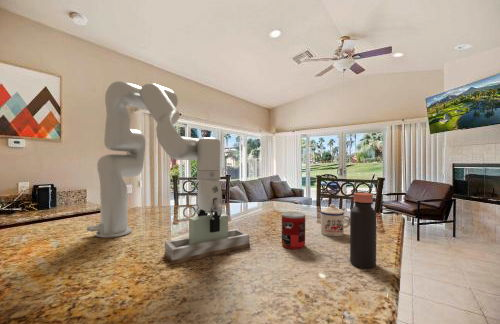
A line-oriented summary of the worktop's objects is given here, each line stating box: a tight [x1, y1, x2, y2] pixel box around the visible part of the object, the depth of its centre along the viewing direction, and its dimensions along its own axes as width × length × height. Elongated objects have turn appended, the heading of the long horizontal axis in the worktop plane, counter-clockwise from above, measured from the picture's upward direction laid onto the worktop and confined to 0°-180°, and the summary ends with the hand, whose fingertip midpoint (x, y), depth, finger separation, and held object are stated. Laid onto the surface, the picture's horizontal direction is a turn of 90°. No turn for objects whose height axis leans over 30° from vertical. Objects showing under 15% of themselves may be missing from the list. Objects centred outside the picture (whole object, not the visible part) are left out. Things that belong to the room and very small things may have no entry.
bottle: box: [349, 192, 377, 270], centre depth 71 cm, size 7×7×20 cm
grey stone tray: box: [164, 228, 251, 265], centre depth 82 cm, size 26×9×4 cm, turn 123°
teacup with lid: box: [320, 203, 350, 237], centre depth 100 cm, size 12×9×12 cm
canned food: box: [281, 211, 306, 250], centre depth 86 cm, size 8×8×11 cm
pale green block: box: [188, 212, 229, 245], centre depth 82 cm, size 12×4×10 cm, turn 124°
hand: (208, 228), depth 82 cm, fingers open, 9 cm apart
